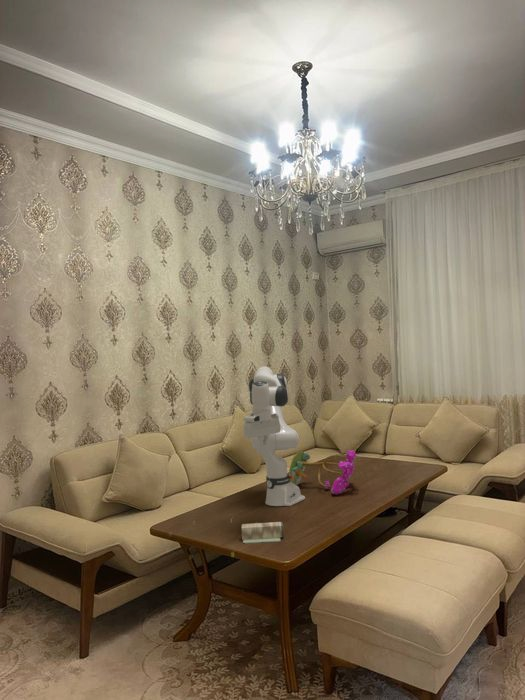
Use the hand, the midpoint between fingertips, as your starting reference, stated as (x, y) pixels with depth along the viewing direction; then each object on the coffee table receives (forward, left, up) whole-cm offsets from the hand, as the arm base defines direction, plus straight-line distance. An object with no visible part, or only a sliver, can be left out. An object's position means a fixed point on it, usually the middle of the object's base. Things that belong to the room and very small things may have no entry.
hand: (263, 444), depth 248 cm
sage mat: (+14, +12, -37) cm, 42 cm away
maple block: (+7, +18, -34) cm, 39 cm away
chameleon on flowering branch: (-59, -18, -37) cm, 72 cm away
